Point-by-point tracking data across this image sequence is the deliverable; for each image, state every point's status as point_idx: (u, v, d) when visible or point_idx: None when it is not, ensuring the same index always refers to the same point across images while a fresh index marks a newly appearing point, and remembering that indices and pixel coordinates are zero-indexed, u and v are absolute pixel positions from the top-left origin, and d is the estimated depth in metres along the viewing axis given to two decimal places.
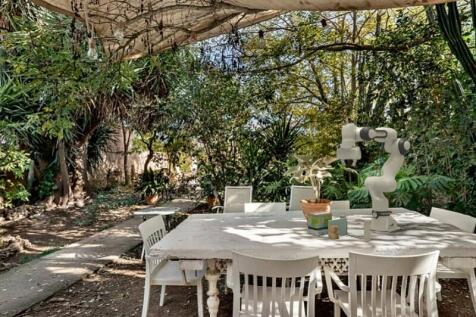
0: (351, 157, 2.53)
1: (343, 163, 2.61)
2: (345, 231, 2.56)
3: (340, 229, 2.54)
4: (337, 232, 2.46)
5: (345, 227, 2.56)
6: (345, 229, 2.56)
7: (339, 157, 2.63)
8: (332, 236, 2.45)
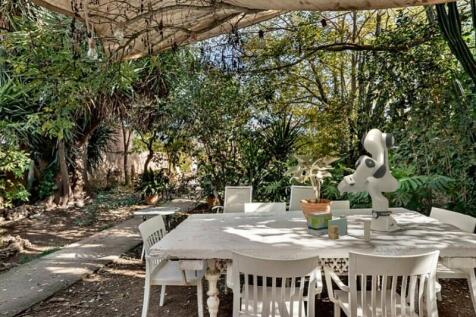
0: (358, 190, 2.38)
1: (343, 194, 2.38)
2: (345, 231, 2.56)
3: (340, 229, 2.54)
4: (337, 232, 2.46)
5: (345, 227, 2.56)
6: (345, 229, 2.56)
7: (342, 191, 2.34)
8: (332, 236, 2.45)
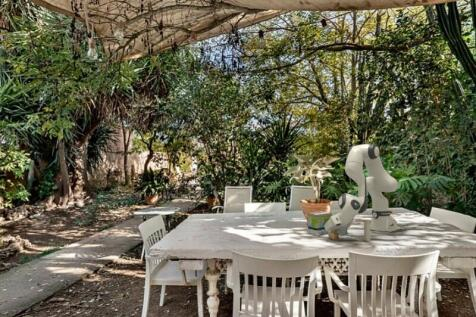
0: (343, 227, 2.45)
1: (331, 231, 2.45)
2: (345, 232, 2.56)
3: None
4: (337, 232, 2.46)
5: None
6: (345, 229, 2.56)
7: (329, 230, 2.40)
8: (332, 236, 2.45)
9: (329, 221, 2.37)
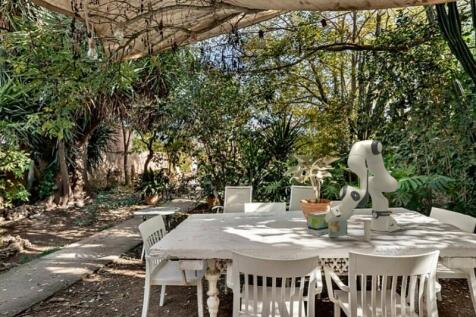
0: (343, 219, 2.45)
1: None
2: (345, 232, 2.56)
3: (340, 229, 2.54)
4: (338, 225, 2.46)
5: (345, 227, 2.56)
6: (345, 229, 2.56)
7: (329, 221, 2.40)
8: (333, 229, 2.45)
9: (329, 213, 2.37)
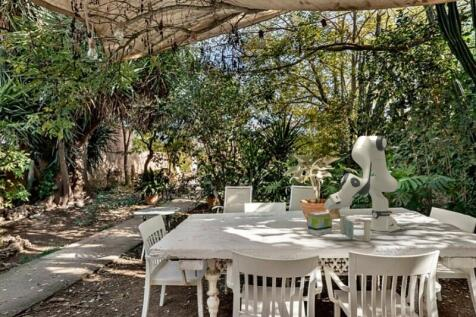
0: (343, 206, 2.45)
1: (331, 210, 2.45)
2: None
3: None
4: (338, 212, 2.45)
5: None
6: None
7: (329, 208, 2.40)
8: (334, 216, 2.44)
9: (329, 199, 2.37)
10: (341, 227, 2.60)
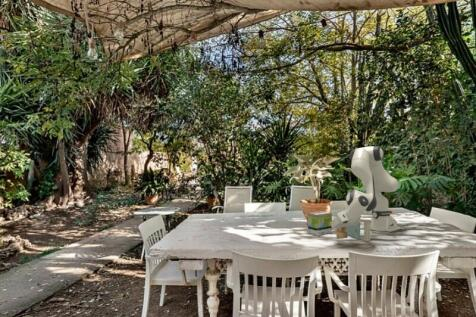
0: (350, 225, 2.34)
1: None
2: None
3: None
4: (345, 231, 2.34)
5: None
6: None
7: (335, 227, 2.28)
8: (340, 235, 2.32)
9: (335, 218, 2.26)
10: None
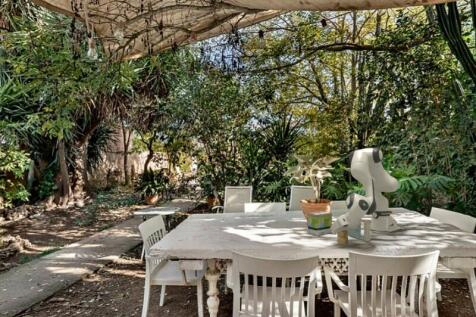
0: (350, 229, 2.34)
1: None
2: None
3: None
4: (347, 237, 2.33)
5: None
6: None
7: (336, 231, 2.29)
8: (341, 241, 2.32)
9: (336, 222, 2.26)
10: None
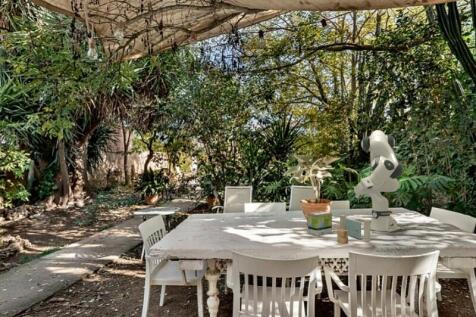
0: (374, 192, 2.29)
1: (359, 196, 2.28)
2: None
3: None
4: (347, 237, 2.33)
5: None
6: None
7: (359, 194, 2.24)
8: (341, 241, 2.32)
9: (360, 184, 2.21)
10: (341, 227, 2.60)
